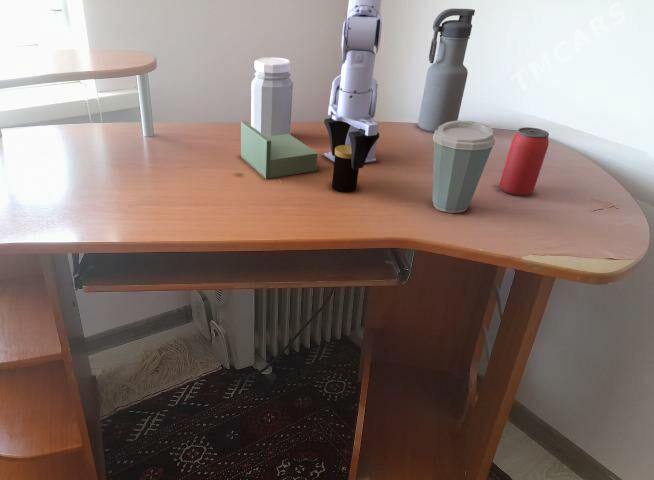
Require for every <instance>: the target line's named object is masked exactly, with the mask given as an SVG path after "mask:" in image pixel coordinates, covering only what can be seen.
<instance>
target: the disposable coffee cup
mask: <svg viewBox="0 0 654 480" xmlns="http://www.w3.org/2000/svg"><path fill="white" fill-rule="evenodd" d="M432 141H433V170H432V177H433V178H432V204H433V205H432V206H433V207H434V208H435V209H436V210H438V211H441V212H443V213H449V214H458V213H459V214H460V213H463V212H465V211H467V209H468V207H470V205H471V203H472V200H473V198H474V195H475V192H476V189H477V187H478V185H479V182H480V180H481V177H482V175H483V173H484V170H485V167H486V164H487V163H488V159H489V157H490V154H491V152H492V150H493V147H495V144H496V143H495V141H496V138H495V135H494V129H493V128H492V127H490V126H489V125H487V124H486V123H482V122H478V121H472V120H461V119H460V120H459V119H458V120H457V121H452V122H446V123H444V124H442V125H440V126H439V127H438V130H436V131H435V132H433V136H432Z"/></svg>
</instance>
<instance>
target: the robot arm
mask: <svg viewBox="0 0 654 480" xmlns="http://www.w3.org/2000/svg"><path fill="white" fill-rule="evenodd" d="M381 6H382V0H348V3H347V14H346V19H344V21H343V25H342V35H341V64H342V65H341V71H340V74H339V75H338V76H335V78H334V79H333V81H332V85H331V90H330V97H329V104H328V111H327V115H328V116H330V117H329V118H325V119H324V120H323V123H324V126H325V128H326V130H327V133H328V137H329V144H330V152H324V153H323V156H324V157H325V158H327V159H328V160H329V161H331V162H333V163H334V159H335V148H336V147H337V146H340V145H351V148H352V159H351V164H352V168H353V169H359V170H360V169H363V168H364V166H365V164H367V163H374V162H377V158H376V157H375V155H376V149H377V141H378V140H379V138H380V132H379V130H378V129H379V124H378V123H377V122H376V121H375V119H373V118H375V115H376V110H377V102H378V86H379V84H378V81H377V80H376V79H375V77H374V70H375V63H376V62H375V61H376V54H378V52H379V49H380V44H381V38H382V30H383V21H382V13H381V9H382V8H381ZM374 49H376V50H375V51H374Z"/></svg>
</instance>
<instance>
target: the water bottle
mask: <svg viewBox="0 0 654 480" xmlns="http://www.w3.org/2000/svg"><path fill="white" fill-rule="evenodd" d="M475 13H476V10H475V9H473V8H447V9H445V10H442V11H441V12H440V13H439V14H438V15H437V16H436V17H435V19H434V21H433V24H432V30H433V36H432V39H431V42H430V48H429V54H428V61H429V64H431V65H430V66H429V67H428V68H427V72H426V76H425V83H424V88H423V92H422V93H423V94H422V99H421V104H420V110H419V115H418V120H417V126H418V127H419V128H420V129H421V130H423V131H425V132H429V133H434V132H435V131H436V130H438V127H439V126H440V125H442V124H444V123H446V122H452V121H458V120H459V115H460V111H461V106H462V103H463V98H464V93H465V89H466V84H467V79H468V73H469V71H468V69H467V67H466V66H465V65H464V61H465V56H466V51H467V46H468V42H469V39H470V38H471V37H470V36H471V34H472V29H473V23H472V22H473V21H472V20H473V16H475ZM452 16H453V17H454V16H455V17H456V16H458V19H450V20H446V19H447V18H450V17H452ZM444 20H445V21H444ZM438 35H439V43H438ZM437 47H438V48H437ZM436 51H437V53H436ZM435 56H436V59H435ZM435 60H436V61H435Z"/></svg>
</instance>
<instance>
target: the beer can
mask: <svg viewBox="0 0 654 480" xmlns="http://www.w3.org/2000/svg"><path fill="white" fill-rule="evenodd" d="M549 135H550V133H549V132H548V131H547V130H544V129H542V128H538V127H537V128H536V127H520V128H518V129H517V131H516V133H515V134H514V136H513V137H512V140H511V142H510V146H509V149H508V153H507V156H506V159H505V163H504V166H503V170H502V173H501V177H500V181H499V184H498V187H499V189H500V190H501V191H502V192H503V193H506V194H508V195H512V196H518V197H524V196H529V195H531V194H532V193H534V192H535V191H534V190H535V188H536V185H537V182H538V179H539V175H540V172H541V170H542V166H543V164H544V160H545V157H546V154H547V151H548V147H549V143H550V142H549V141H550V140H549Z"/></svg>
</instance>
